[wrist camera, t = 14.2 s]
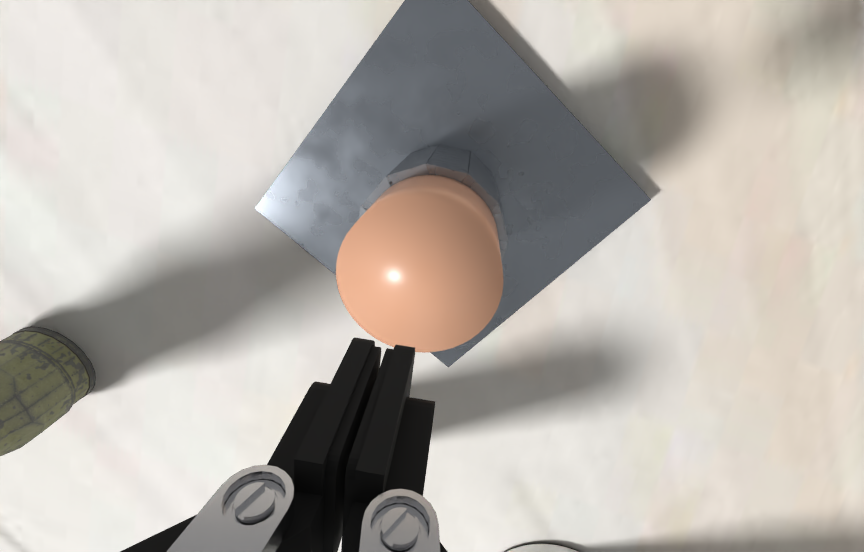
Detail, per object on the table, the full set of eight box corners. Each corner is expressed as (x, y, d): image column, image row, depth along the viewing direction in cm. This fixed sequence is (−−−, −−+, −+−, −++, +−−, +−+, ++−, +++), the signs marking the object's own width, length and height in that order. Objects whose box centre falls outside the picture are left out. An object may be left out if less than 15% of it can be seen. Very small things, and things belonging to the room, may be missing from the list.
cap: (517, 210, 27) (539, 282, 17) (442, 281, 30) (424, 378, 20) (436, 131, 26) (409, 159, 16) (365, 213, 28) (304, 282, 18)
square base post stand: (645, 196, 29) (711, 239, 21) (449, 360, 36) (440, 439, 28) (434, -34, 25) (412, -94, 16) (260, 205, 32) (186, 245, 24)
